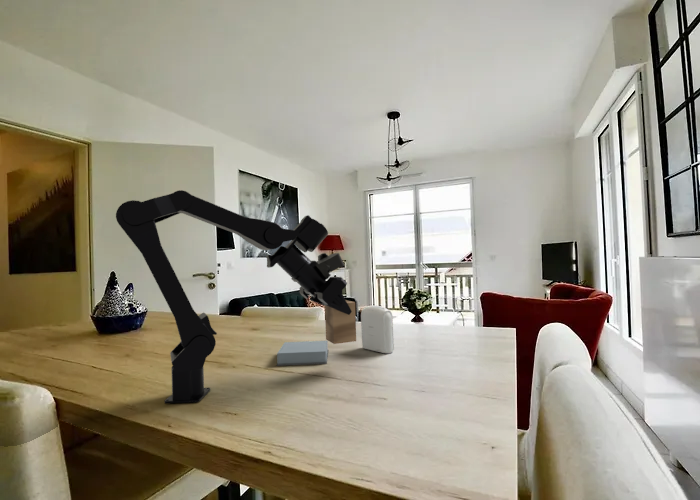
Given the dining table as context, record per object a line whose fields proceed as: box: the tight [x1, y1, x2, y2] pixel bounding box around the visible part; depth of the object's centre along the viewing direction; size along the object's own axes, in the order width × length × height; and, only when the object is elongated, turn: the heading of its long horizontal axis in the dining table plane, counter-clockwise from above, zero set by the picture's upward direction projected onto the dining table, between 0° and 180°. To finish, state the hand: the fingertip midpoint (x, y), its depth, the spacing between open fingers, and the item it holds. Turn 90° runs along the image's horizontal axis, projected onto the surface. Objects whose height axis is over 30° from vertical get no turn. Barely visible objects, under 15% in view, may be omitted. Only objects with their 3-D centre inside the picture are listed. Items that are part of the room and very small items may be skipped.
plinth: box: [276, 340, 329, 367], centre depth 97 cm, size 12×12×3 cm
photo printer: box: [360, 305, 395, 354], centre depth 102 cm, size 10×4×12 cm, turn 39°
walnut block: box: [324, 299, 357, 345], centre depth 86 cm, size 6×6×9 cm
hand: (345, 311), depth 87 cm, fingers closed on walnut block, 5 cm apart
